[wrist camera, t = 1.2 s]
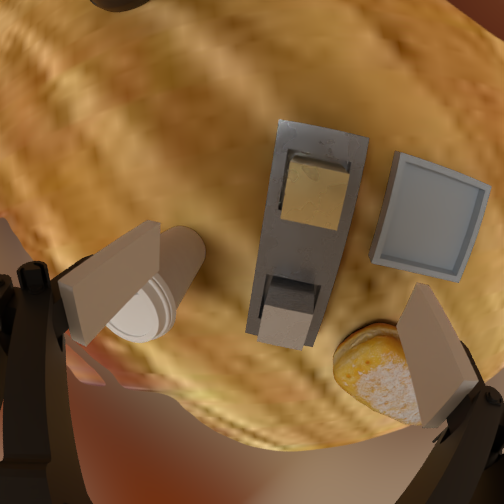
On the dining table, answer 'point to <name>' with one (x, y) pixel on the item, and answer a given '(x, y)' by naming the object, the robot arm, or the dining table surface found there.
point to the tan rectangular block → (314, 192)
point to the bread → (377, 372)
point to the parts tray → (428, 219)
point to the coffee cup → (162, 288)
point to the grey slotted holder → (299, 234)
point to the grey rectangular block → (287, 313)
